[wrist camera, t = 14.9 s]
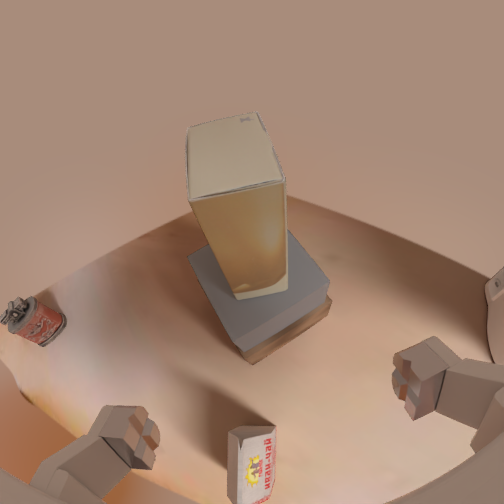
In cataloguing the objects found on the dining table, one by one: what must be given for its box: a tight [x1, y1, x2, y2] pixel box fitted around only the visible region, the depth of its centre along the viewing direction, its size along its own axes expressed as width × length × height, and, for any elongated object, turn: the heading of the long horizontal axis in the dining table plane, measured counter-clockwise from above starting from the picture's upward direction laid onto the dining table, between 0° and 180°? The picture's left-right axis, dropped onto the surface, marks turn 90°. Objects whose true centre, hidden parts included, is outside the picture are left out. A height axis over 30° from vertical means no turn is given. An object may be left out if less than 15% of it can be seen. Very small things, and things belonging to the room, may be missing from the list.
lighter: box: [0, 296, 67, 347], centre depth 29 cm, size 8×3×10 cm, turn 127°
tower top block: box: [187, 229, 330, 352], centre depth 25 cm, size 9×9×5 cm
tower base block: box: [198, 280, 332, 365], centre depth 29 cm, size 10×10×5 cm
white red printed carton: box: [227, 425, 276, 504], centre depth 18 cm, size 4×7×10 cm, turn 179°
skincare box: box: [185, 112, 288, 300], centre depth 18 cm, size 6×4×12 cm
